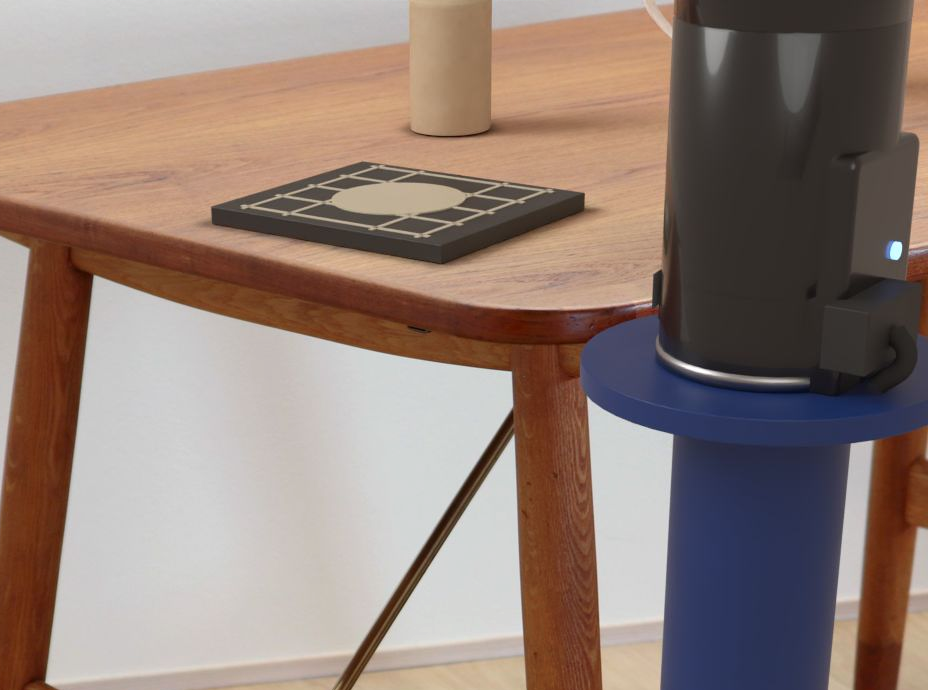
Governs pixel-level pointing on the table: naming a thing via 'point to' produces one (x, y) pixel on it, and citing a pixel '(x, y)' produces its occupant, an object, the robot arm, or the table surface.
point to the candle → (450, 66)
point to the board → (399, 210)
